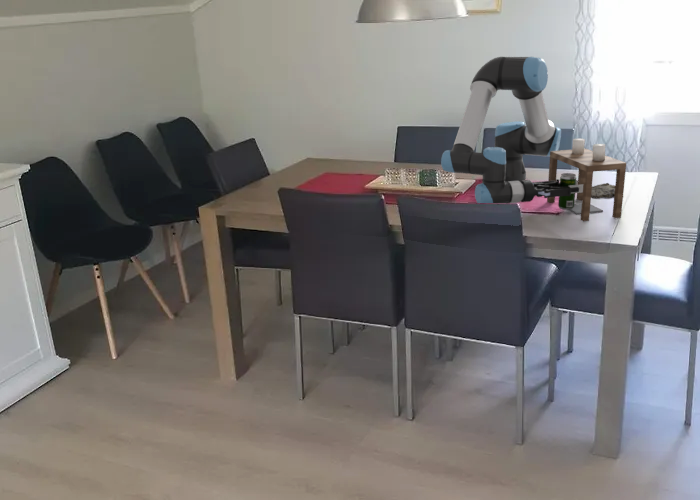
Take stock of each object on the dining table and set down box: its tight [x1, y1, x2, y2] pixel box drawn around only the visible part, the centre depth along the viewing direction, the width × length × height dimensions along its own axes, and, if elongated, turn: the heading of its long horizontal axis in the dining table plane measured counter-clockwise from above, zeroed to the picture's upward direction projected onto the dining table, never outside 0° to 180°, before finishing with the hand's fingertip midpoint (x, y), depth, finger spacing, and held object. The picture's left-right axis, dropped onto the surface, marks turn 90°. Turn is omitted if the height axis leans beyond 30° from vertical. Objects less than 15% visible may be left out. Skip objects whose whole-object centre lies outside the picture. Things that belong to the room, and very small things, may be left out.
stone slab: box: [591, 182, 615, 199], centre depth 275 cm, size 12×17×3 cm
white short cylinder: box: [571, 137, 586, 155], centre depth 253 cm, size 4×4×5 cm
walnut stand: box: [546, 147, 627, 222], centre depth 252 cm, size 26×14×19 cm, turn 13°
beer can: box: [557, 172, 577, 211], centre depth 251 cm, size 5×5×12 cm
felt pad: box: [568, 203, 604, 215], centre depth 255 cm, size 10×10×1 cm
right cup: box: [592, 143, 606, 161], centre depth 242 cm, size 4×4×5 cm
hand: (581, 186), depth 251 cm, fingers closed on beer can, 5 cm apart
